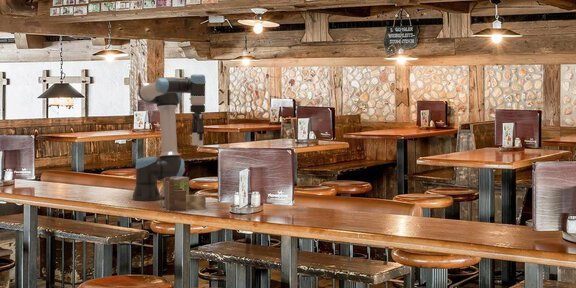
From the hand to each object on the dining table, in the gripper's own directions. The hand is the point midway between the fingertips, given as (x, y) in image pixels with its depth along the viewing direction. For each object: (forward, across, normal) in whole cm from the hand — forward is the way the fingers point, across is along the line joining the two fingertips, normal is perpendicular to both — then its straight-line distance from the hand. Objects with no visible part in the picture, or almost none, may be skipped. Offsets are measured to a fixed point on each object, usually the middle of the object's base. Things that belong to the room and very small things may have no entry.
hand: (197, 146), depth 456 cm
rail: (+32, +4, -5) cm, 32 cm away
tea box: (+32, -12, -9) cm, 35 cm away
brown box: (+32, +4, -12) cm, 34 cm away
